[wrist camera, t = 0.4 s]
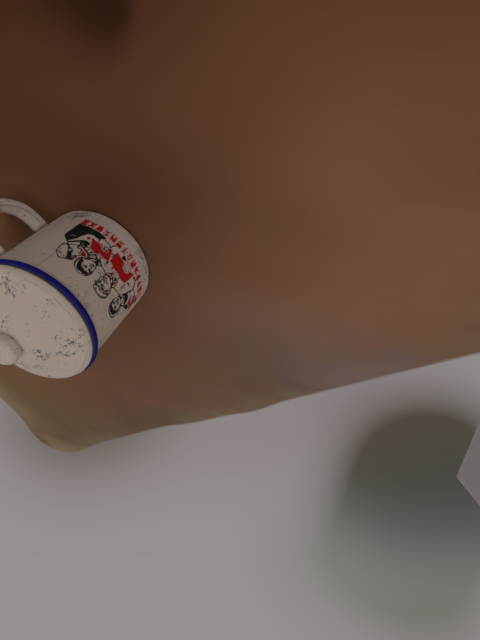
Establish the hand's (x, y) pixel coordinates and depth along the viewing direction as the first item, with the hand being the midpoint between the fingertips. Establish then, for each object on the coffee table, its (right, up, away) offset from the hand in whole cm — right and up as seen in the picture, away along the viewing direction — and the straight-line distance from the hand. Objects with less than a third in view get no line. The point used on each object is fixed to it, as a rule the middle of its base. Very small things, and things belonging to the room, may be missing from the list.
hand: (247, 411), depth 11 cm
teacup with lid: (-12, +8, +22) cm, 26 cm away
